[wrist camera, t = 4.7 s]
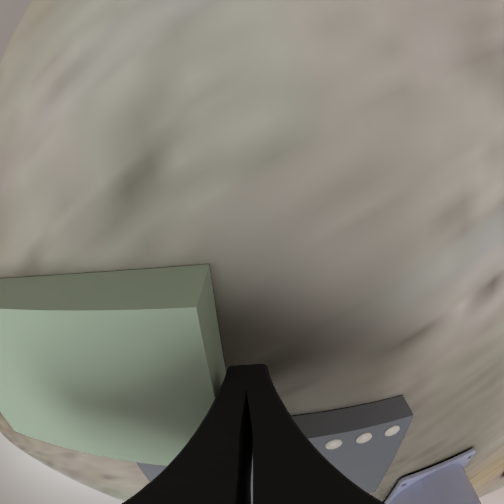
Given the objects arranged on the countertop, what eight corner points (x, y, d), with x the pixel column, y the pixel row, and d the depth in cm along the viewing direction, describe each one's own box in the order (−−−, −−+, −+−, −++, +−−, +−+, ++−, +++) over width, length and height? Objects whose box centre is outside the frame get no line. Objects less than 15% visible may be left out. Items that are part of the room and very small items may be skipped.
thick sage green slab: (234, 416, 13) (232, 468, 10) (35, 397, 13) (14, 431, 10) (209, 263, 10) (196, 307, 7) (-18, 279, 10) (-55, 305, 7)
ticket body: (370, 475, 15) (375, 492, 14) (172, 491, 16) (170, 508, 14) (402, 395, 13) (414, 416, 11) (128, 417, 13) (120, 439, 11)
